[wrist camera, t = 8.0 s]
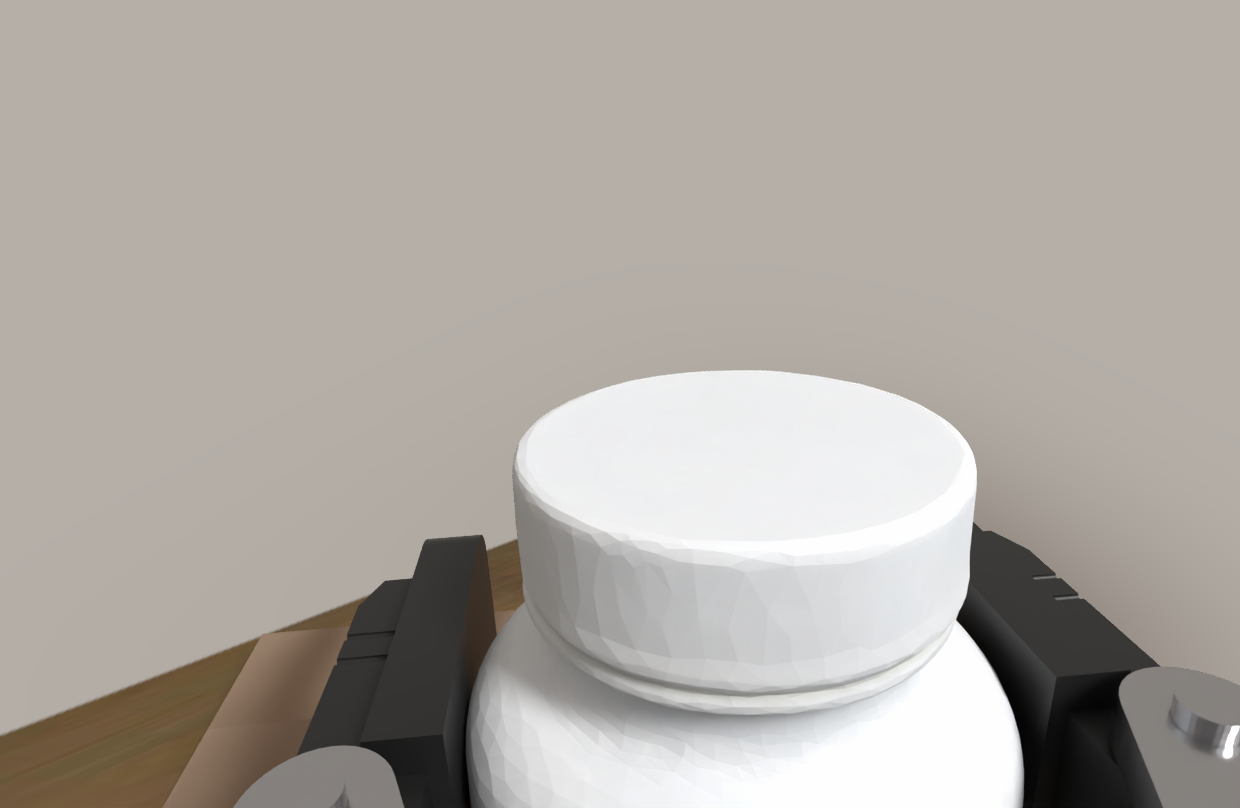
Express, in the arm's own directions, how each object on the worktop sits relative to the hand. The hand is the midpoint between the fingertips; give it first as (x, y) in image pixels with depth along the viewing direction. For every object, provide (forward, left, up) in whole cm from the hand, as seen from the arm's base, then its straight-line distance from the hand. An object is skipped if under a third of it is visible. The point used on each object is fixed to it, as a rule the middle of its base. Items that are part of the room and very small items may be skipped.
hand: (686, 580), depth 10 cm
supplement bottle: (0, -3, -7) cm, 7 cm away
